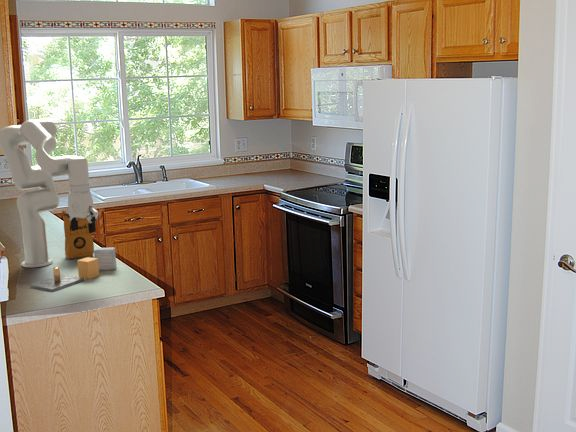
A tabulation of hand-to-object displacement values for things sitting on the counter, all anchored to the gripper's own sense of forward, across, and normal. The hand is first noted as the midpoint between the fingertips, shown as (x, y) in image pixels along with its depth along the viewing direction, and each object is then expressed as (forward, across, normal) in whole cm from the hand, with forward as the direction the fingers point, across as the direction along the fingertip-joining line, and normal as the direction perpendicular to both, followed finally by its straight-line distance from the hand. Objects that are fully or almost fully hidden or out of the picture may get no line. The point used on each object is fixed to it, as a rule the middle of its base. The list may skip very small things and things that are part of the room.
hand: (83, 231), depth 277 cm
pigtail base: (+19, -3, -12) cm, 23 cm away
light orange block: (+19, 0, +1) cm, 19 cm away
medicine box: (+19, -2, +12) cm, 23 cm away
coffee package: (+19, -28, +22) cm, 40 cm away
